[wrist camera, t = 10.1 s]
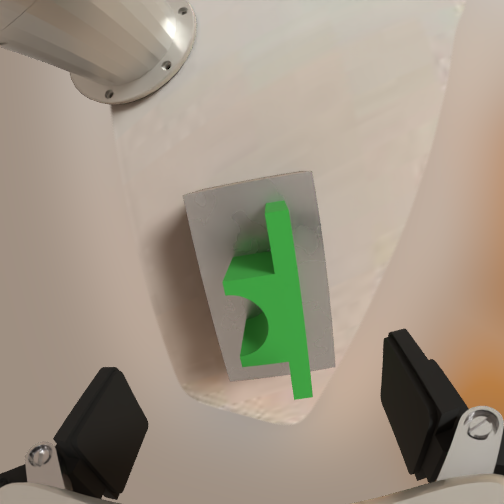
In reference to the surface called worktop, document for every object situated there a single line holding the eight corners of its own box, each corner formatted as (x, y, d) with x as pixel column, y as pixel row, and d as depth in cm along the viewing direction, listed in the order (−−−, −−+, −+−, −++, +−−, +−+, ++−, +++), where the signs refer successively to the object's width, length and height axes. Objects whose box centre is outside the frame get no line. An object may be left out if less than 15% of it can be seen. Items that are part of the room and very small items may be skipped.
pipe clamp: (223, 210, 19) (209, 221, 14) (284, 199, 18) (288, 208, 14) (255, 364, 21) (251, 405, 17) (306, 357, 21) (313, 398, 17)
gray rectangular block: (203, 189, 24) (182, 195, 19) (301, 171, 24) (312, 171, 18) (237, 341, 28) (229, 381, 22) (323, 328, 27) (335, 366, 21)
